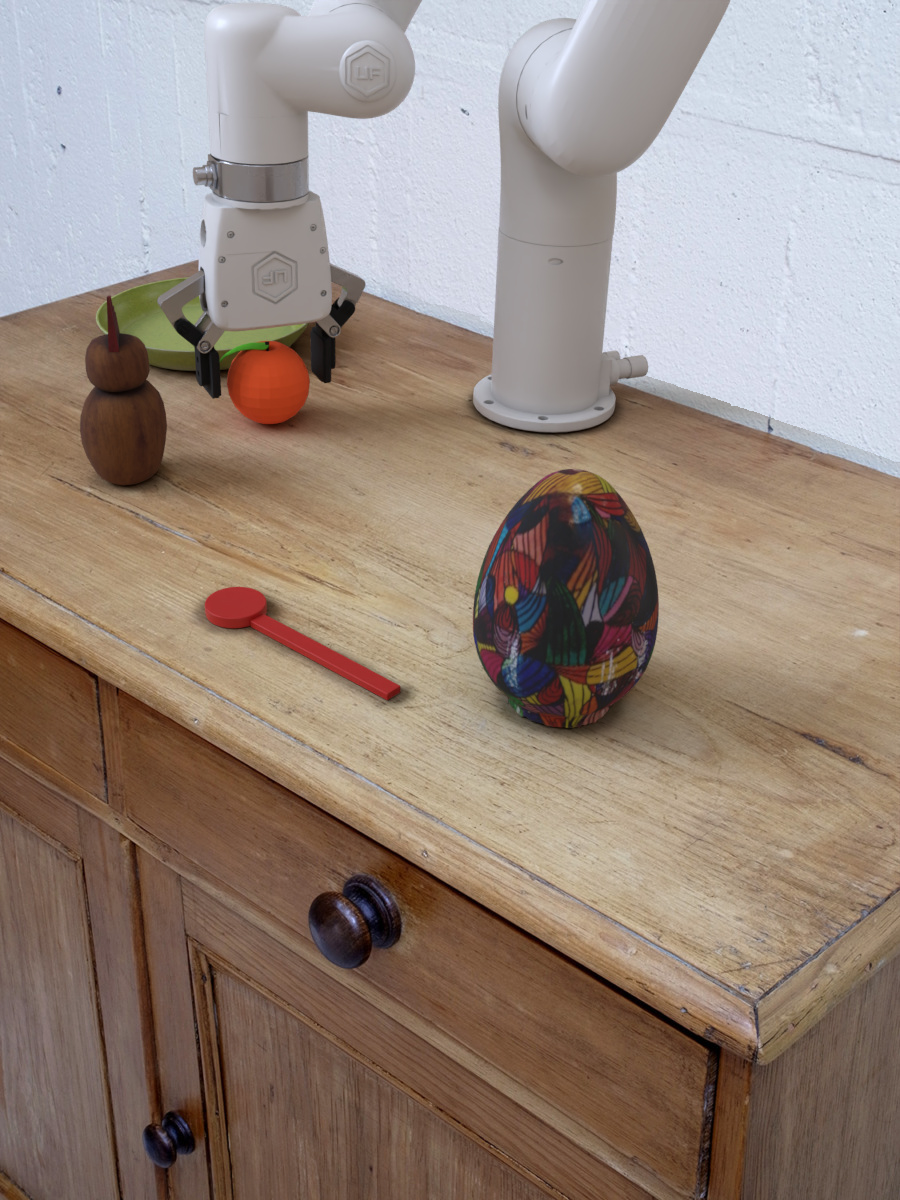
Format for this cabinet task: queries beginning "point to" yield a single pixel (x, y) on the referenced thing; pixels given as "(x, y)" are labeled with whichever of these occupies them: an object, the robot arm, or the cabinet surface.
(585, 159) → the robot arm
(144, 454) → the wooden figurine
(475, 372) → the cabinet surface
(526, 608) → the egg
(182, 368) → the saucer
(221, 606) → the spoon
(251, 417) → the clementine
